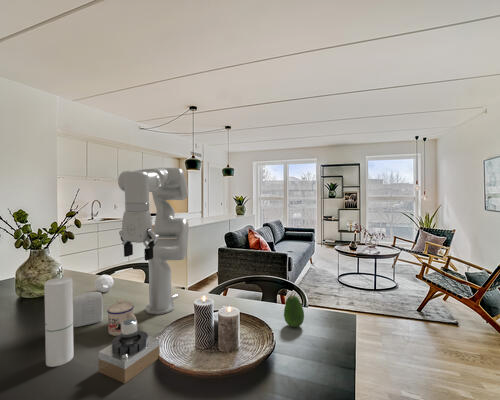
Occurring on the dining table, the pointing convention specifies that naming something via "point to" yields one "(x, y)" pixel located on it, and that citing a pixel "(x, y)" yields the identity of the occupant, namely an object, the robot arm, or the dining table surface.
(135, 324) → the lens
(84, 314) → the photo printer
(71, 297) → the cylindrical container
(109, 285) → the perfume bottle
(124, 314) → the teacup with lid
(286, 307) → the avocado
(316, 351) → the dining table surface
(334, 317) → the dining table surface
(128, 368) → the camera body
